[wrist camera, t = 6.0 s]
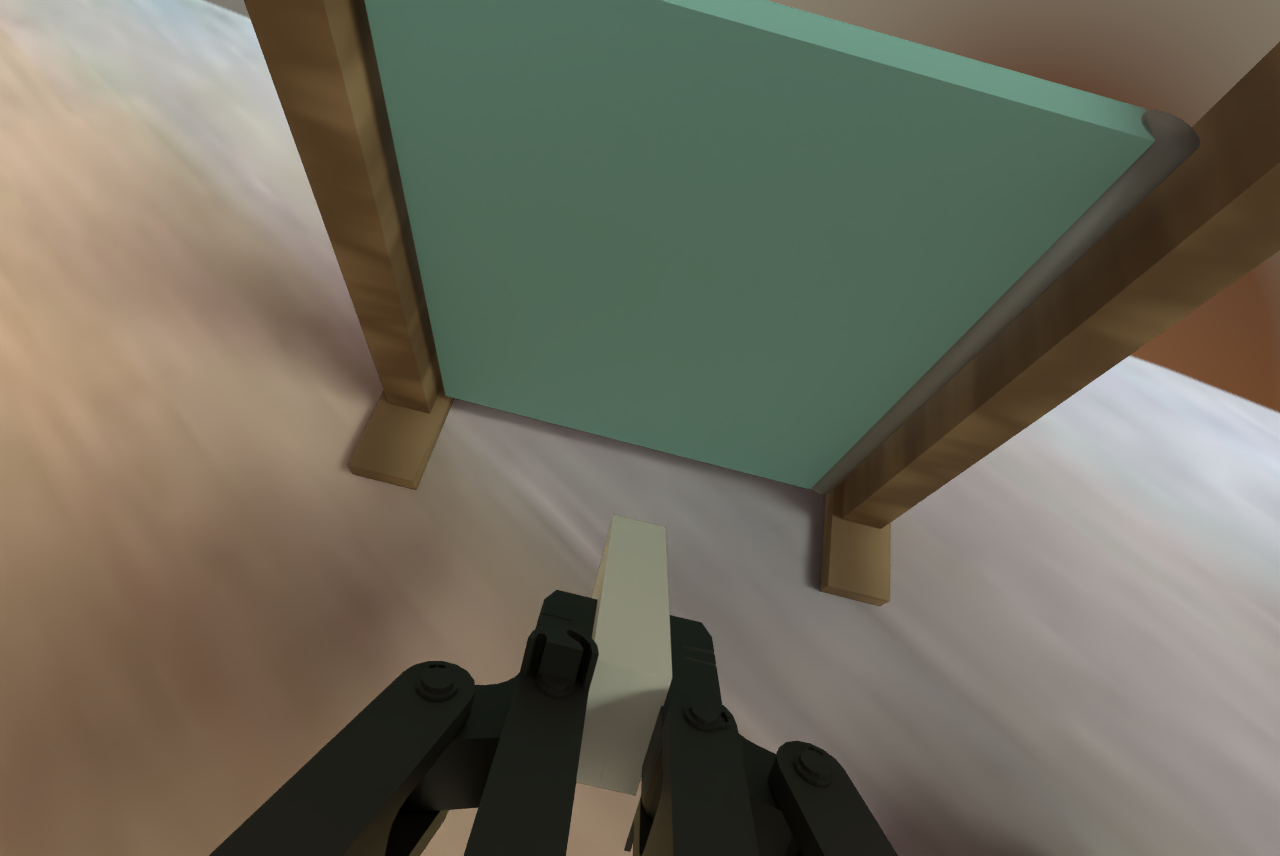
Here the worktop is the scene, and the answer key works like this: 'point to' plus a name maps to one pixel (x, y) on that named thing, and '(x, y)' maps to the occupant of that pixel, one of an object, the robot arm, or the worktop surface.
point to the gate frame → (932, 437)
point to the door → (734, 215)
